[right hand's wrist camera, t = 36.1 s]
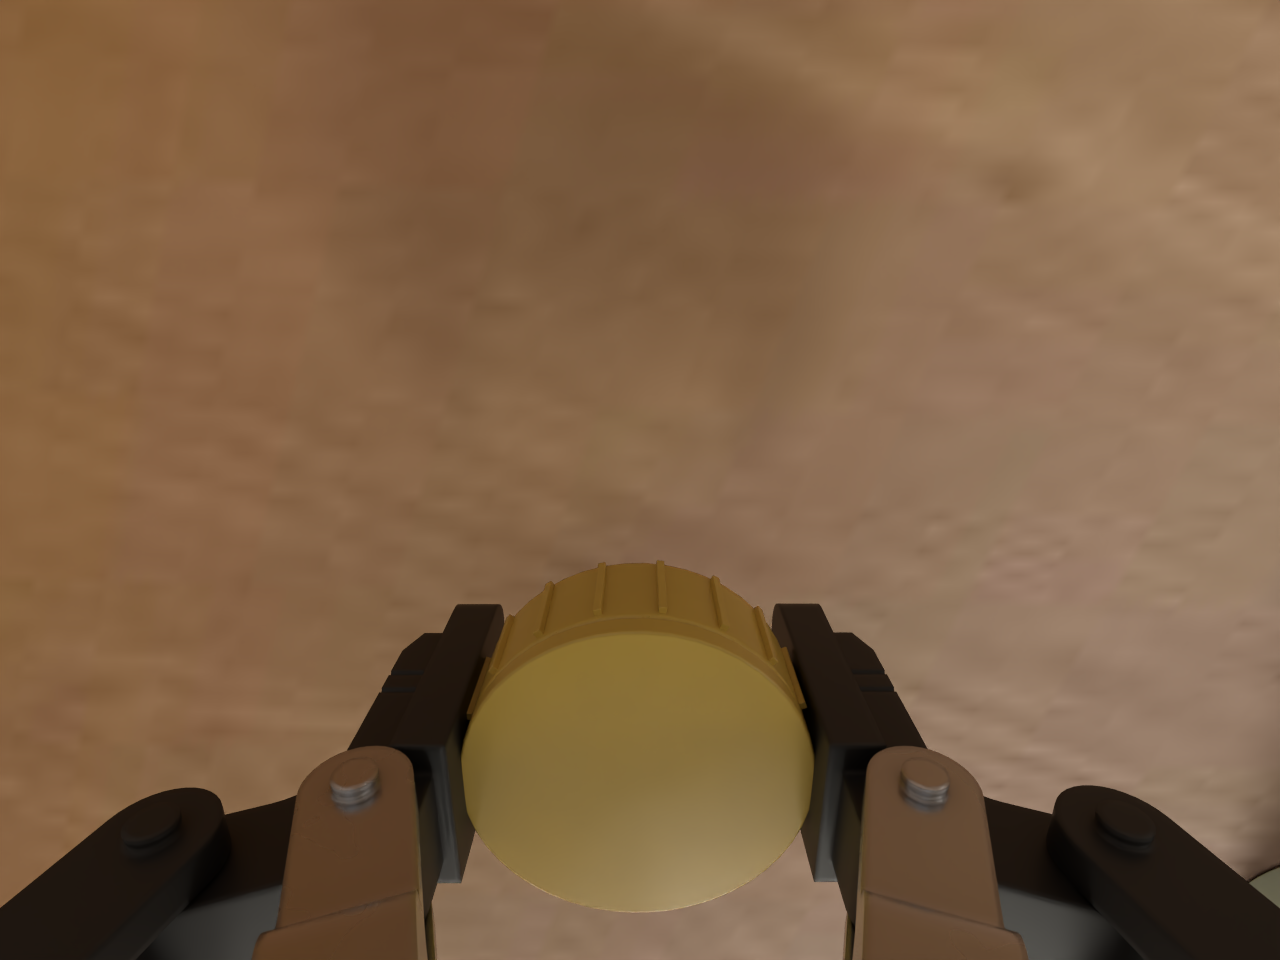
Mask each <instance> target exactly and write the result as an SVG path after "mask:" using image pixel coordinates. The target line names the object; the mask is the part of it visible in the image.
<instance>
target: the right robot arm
mask: <svg viewBox="0 0 1280 960" xmlns="http://www.w3.org/2000/svg"><path fill="white" fill-rule="evenodd" d="M503 627H504V614H503V609H502V606H501V605H500V604H458V605H457V606H456V607H455V609H454V611H453V613H452V615H451V617H450V619H449V621H448V623H447V625H446V627H445V629H444V631H443V633H424V634H423V635H422V636H420V637H419V638H418V639H417V640H415V641H414V642H413V643H412V644H410V645H409V646H408V647H407V648H405V649H404V650H403V651H402V653H401V654H400V656H399V658H398V660H397V662H396V663H395V665H394V667H393V669H392V671H391V675H389V676H388V678H387V680H386V681H385V683H384V685H383V687H382V692H381V693H379V694H378V696H377V698H376V699H375V701H374V703H373V705H372V707H371V708H370V710H369V712H368V714H367V716H366V717H365V719H364V721H363V723H362V725H361V726H360V728H359V730H358V732H357V734H356V735H355V737H354V739H353V741H352V743H351V744H350V746H349V748H348V750H347V751H345V752H343V753H340V754H338V755H336V756H334V757H332V758H330V759H328V760H326V761H325V762H323V763H322V764H320V765H319V766H318V767H317V768H315V769H314V770H313V771H312V772H311V773H310V774H309V775H308V776H307V777H306V779H305V780H304V781H303V783H302V784H301V786H300V788H299V790H298V793H297V795H296V796H293V797H291V798H288V799H285V800H283V801H279V802H276V803H272V804H268V805H264V806H260V807H256V808H251V809H247V810H243V811H239V812H235V813H231V814H226V815H225V814H224V810H223V806H222V803H221V800H220V799H219V798H218V797H217V795H215V794H214V793H212V792H211V791H208V790H205V789H200V788H179V789H173V790H168V791H164V792H161V793H158V794H155V795H152V796H149V797H147V798H144V799H142V800H140V801H138V802H136V803H134V804H132V805H130V806H128V807H127V808H125V809H123V810H122V811H120V812H119V813H117V814H116V815H115V816H113V817H112V818H110V819H109V820H108V821H107V822H105V823H104V824H103V825H102V826H100V827H99V828H98V829H97V830H96V831H94V832H93V833H92V834H91V835H89V836H88V837H87V838H86V839H84V840H83V841H82V842H81V843H80V844H78V845H77V846H76V847H75V848H73V849H72V850H71V851H70V852H69V853H67V854H66V855H65V856H64V857H62V858H61V859H60V860H59V861H57V862H56V863H55V864H54V865H53V866H51V867H50V868H49V869H48V870H46V871H45V872H44V873H43V874H42V875H40V876H39V877H38V878H37V879H35V880H34V881H33V882H32V883H30V884H29V885H28V886H27V887H26V888H24V889H23V890H22V891H21V892H19V893H18V894H17V895H16V896H15V897H13V898H12V899H11V900H10V901H8V902H7V903H6V904H5V905H3V906H2V907H1V908H0V960H437V948H436V934H435V922H434V915H433V908H432V899H433V895H434V892H435V889H436V886H437V883H461V882H462V878H463V874H464V871H465V867H466V863H467V859H468V856H469V852H470V848H471V845H472V841H473V837H474V834H475V828H474V826H473V824H472V822H471V820H470V818H469V816H468V813H467V809H466V801H465V793H464V784H463V775H462V765H461V749H462V744H463V739H464V736H465V733H466V731H467V728H468V725H469V722H470V720H467V711H468V708H469V705H470V702H471V699H472V696H473V693H474V691H475V688H476V685H477V682H478V679H479V676H480V674H481V671H482V668H483V665H484V662H485V659H486V657H489V658H492V655H493V652H494V650H495V647H496V644H497V642H498V641H499V638H500V635H501V632H502V629H503ZM772 632H773V634H774V635H775V637H776V639H777V640H778V643H779V645H780V647H781V648H784V647H787V650H788V652H789V655H790V658H791V661H792V664H793V667H794V670H795V673H796V676H797V679H798V682H799V685H800V688H801V691H802V693H803V696H804V699H805V702H806V705H807V708H805V709H802V712H803V715H804V719H805V721H806V724H807V727H808V730H809V733H810V737H811V741H812V745H813V749H814V753H815V761H814V773H813V782H812V791H811V800H810V807H809V811H808V814H807V816H806V818H805V821H804V823H803V825H802V827H801V829H800V830H801V834H802V837H803V841H804V845H805V849H806V853H807V856H808V860H809V864H810V868H811V872H812V875H813V879H814V882H838V884H839V888H840V891H841V894H842V898H843V901H844V904H845V908H846V910H847V915H846V922H845V934H844V948H843V960H1280V908H1279V907H1278V906H1277V905H1275V904H1274V903H1273V902H1272V901H1270V900H1269V899H1268V898H1267V897H1265V896H1264V895H1263V894H1262V893H1261V892H1259V891H1258V890H1257V889H1256V888H1254V887H1253V886H1252V885H1251V884H1250V883H1248V882H1247V881H1246V880H1245V879H1243V878H1242V877H1241V876H1240V875H1238V874H1237V873H1236V872H1235V871H1234V870H1232V869H1231V868H1230V867H1229V866H1227V865H1226V864H1225V863H1224V862H1223V861H1221V860H1220V859H1219V858H1218V857H1216V856H1215V855H1214V854H1213V853H1211V852H1210V851H1209V850H1208V849H1207V848H1205V847H1204V846H1203V845H1202V844H1200V843H1199V842H1198V841H1197V840H1195V839H1194V838H1193V837H1192V836H1191V835H1189V834H1188V833H1187V832H1186V831H1184V830H1183V829H1182V828H1181V827H1180V826H1178V825H1177V824H1176V823H1175V822H1173V821H1172V820H1171V819H1170V818H1168V817H1167V816H1166V815H1164V814H1163V813H1162V812H1160V811H1159V810H1157V809H1156V808H1154V807H1153V806H1151V805H1149V804H1148V803H1146V802H1144V801H1142V800H1140V799H1138V798H1136V797H1133V796H1131V795H1129V794H1126V793H1124V792H1120V791H1117V790H1114V789H1110V788H1106V787H1100V786H1076V787H1072V788H1069V789H1066V790H1065V791H1063V792H1062V793H1061V794H1060V795H1059V796H1058V797H1057V799H1056V802H1055V806H1054V809H1053V813H1052V814H1049V813H1045V812H1041V811H1036V810H1032V809H1028V808H1024V807H1020V806H1016V805H1012V804H1007V803H1003V802H1000V801H996V800H993V799H990V798H987V797H984V796H983V793H982V790H981V788H980V786H979V784H978V783H977V781H976V780H975V779H974V777H973V776H972V775H971V774H970V773H969V772H968V771H967V770H966V769H965V768H963V767H962V766H961V765H960V764H958V763H957V762H955V761H954V760H952V759H950V758H948V757H946V756H944V755H942V754H940V753H937V752H935V751H932V750H929V749H927V747H926V745H925V743H924V742H923V740H922V738H921V736H920V734H919V732H918V731H917V729H916V727H915V725H914V723H913V721H912V720H911V718H910V716H909V714H908V712H907V710H906V709H905V707H904V705H903V703H902V701H901V700H900V698H899V696H898V694H897V692H894V687H893V685H892V683H891V681H890V679H889V678H888V676H887V674H885V670H884V668H883V667H882V665H881V663H880V661H879V659H878V657H877V656H876V654H875V652H874V650H873V649H872V648H870V647H869V646H868V645H867V644H865V643H864V642H863V641H862V640H860V639H859V638H858V637H857V636H855V635H854V634H853V633H833V631H832V629H831V627H830V624H829V622H828V620H827V618H826V616H825V614H824V612H823V610H822V608H821V606H820V605H819V604H776V605H775V607H774V611H773V619H772Z"/></svg>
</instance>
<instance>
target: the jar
mask: <svg viewBox="0 0 1280 960" xmlns="http://www.w3.org/2000/svg"><path fill="white" fill-rule="evenodd" d="M1249 883H1250V884H1251V885H1252V886H1253V887H1254V888H1256V889H1257V890H1258V891H1259V892H1261V893H1262V894H1263V895H1264V896H1265V897H1267V898H1268V899H1269V900H1270V901H1272V902H1273V903H1274V904H1275V905H1277V906H1278V907H1279V908H1280V867H1278V868H1276V869H1274V870H1271V871H1269V872H1267V873H1265V874H1263V875H1261V876H1259V877H1257V878H1256V879H1254V880H1252V881H1251V882H1249Z"/></svg>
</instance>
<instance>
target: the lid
mask: <svg viewBox="0 0 1280 960" xmlns="http://www.w3.org/2000/svg"><path fill="white" fill-rule="evenodd" d="M805 708H807V705H806V702H805V699H804V696H803V693H802V691H801V688H800V685H799V682H798V679H797V676H796V673H795V670H794V667H793V664H792V661H791V658H790V655H789V652H788V650H787V647H784V648H781V647H780V645H779V643H778V640H777V639H776V637H775V635H774V634H773V632H772V631H771V629H770V627H769V626H768V624H767V623H766V621H765V618H764V615H763V611H762V609H761V608H760V607H759V606H757V607H755V608H753V607H752V606H750V605H749V604H748V603H747V602H746V601H745V600H744V599H743V598H741V597H740V596H739V595H737V594H736V593H734V592H733V591H731V590H730V589H728V588H727V587H725V586H723V585H722V584H720V580H719V578H718V577H715V576H712V578H711V579H709V578H707V577H705V576H702V575H700V574H697V573H694V572H691V571H688V570H685V569H680V568H676V567H671V566H667V565H664V561H658V560H657V563H656V564H649V563H627V564H617V565H610V566H606V563H605V562H604V563H599V564H598V568H595V569H591V570H588V571H584V572H581V573H579V574H576V575H574V576H571V577H568V578H566V579H564V580H562V581H560V582H558V583H556V584H555V585H554V584H553V583H552V581H550V582H549V583H547V584H546V585H545V589H544V591H543V592H541V593H540V594H539V595H537V596H536V597H535V598H533V599H532V600H531V601H529V602H528V603H527V604H526V605H525V606H524V607H523V608H522V609H521V610H520V611H519V612H518V613H517V614H516V615H515V617H513V616H512V615H509V616H508V617H507V618H506V621H505V624H504V627H503V629H502V632H501V635H500V638H499V641H498V642H497V644H496V647H495V650H494V652H493V655H492V658H489V657H486V659H485V662H484V665H483V668H482V671H481V674H480V676H479V679H478V682H477V685H476V688H475V691H474V693H473V696H472V699H471V702H470V705H469V708H468V711H467V720H470V722H469V725H468V728H467V731H466V733H465V736H464V739H463V744H462V749H461V765H462V775H463V784H464V793H465V801H466V809H467V813H468V816H469V818H470V820H471V822H472V824H473V826H474V828H475V830H476V832H477V833H478V835H479V836H480V838H481V839H482V840H483V842H484V843H485V845H486V846H487V847H488V849H489V850H490V851H491V852H492V853H493V854H494V855H495V856H496V857H497V859H498V860H499V861H500V862H502V863H503V864H504V865H505V866H506V867H507V868H509V869H510V870H511V871H512V872H513V873H515V874H516V875H517V876H519V877H520V878H522V879H523V880H525V881H526V882H528V883H529V884H531V885H533V886H535V887H537V888H539V889H540V890H542V891H544V892H546V893H548V894H550V895H553V896H556V897H558V898H561V899H563V900H566V901H568V902H572V903H575V904H579V905H582V906H586V907H590V908H596V909H601V910H607V911H617V912H629V913H637V912H659V911H668V910H675V909H680V908H685V907H690V906H694V905H697V904H701V903H704V902H707V901H710V900H713V899H716V898H718V897H720V896H723V895H725V894H727V893H730V892H732V891H734V890H736V889H737V888H739V887H741V886H743V885H744V884H746V883H748V882H750V881H751V880H753V879H754V878H755V877H757V876H758V875H759V874H761V873H762V872H764V871H765V870H766V869H767V868H768V867H769V866H771V865H772V864H773V863H774V862H775V861H776V860H777V859H778V858H779V857H780V856H781V855H782V854H783V853H784V851H785V850H786V849H787V848H788V847H789V845H790V844H791V843H792V842H793V840H794V838H795V837H796V835H797V834H798V832H799V830H800V829H801V827H802V825H803V823H804V821H805V818H806V816H807V814H808V811H809V807H810V800H811V791H812V782H813V773H814V761H815V753H814V749H813V745H812V741H811V737H810V733H809V730H808V727H807V724H806V721H805V719H804V715H803V712H802V709H805Z"/></svg>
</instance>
